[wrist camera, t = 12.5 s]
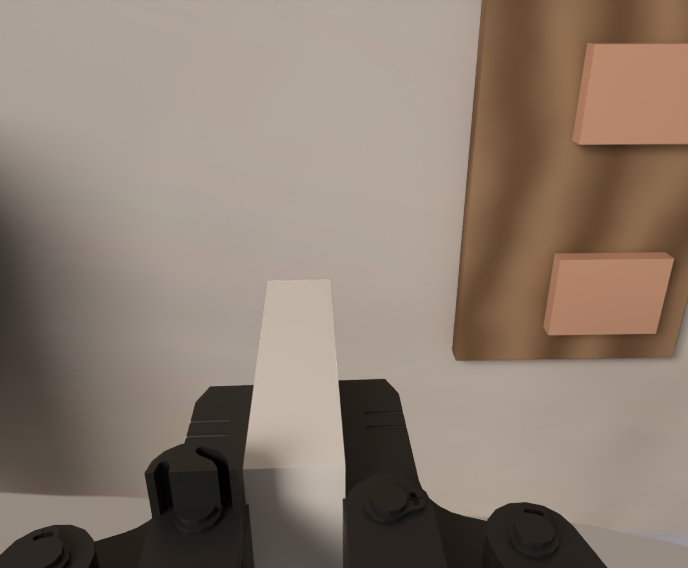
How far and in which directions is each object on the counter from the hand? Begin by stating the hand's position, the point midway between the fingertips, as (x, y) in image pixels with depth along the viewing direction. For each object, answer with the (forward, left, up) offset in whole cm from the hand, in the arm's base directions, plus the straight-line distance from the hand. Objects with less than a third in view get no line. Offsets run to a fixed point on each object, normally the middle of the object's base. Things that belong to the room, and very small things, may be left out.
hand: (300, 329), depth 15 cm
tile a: (+17, -12, -26) cm, 34 cm away
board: (+19, -5, -29) cm, 35 cm away
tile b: (+17, +2, -26) cm, 31 cm away
